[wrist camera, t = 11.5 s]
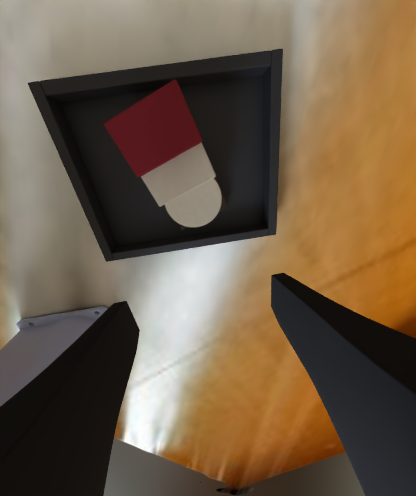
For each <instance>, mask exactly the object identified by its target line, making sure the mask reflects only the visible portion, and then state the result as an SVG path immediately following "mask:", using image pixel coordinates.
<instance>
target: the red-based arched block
mask: <svg viewBox="0 0 416 496" xmlns="http://www.w3.org/2000/svg"><path fill="white" fill-rule="evenodd" d="M104 126H105V127H106V129H107V131H108V132H109V134H110V135H111V137H112V139H113V140H114V142H115V143H116V145H117V146H118V148H119V150H120V151H121V153H122V154H123V156H124V157H125V159H126V161H127V162H128V164H129V165H130V167H131V168H132V170H133V172H134V173H135V175H136V176H137V177H141V178H142V179H143V181H144V183H145V184H146V186H147V187H148V189H149V191H150V192H151V194H152V195H153V197H154V199H155V200H156V202H157V203H158V205H159V206H163V205H164V204H165V207H166V210H167V212H168V213H169V215H170V216H171V217H172V218H173V219H174V220H175V221H176V222H177V223H178V224H179V226H180V227H181V229H182V230H184V229H186V228H188V227H200V226H203V225H206V224H208V223H209V222H211V221H212V220H213V219H214V218H215V217H216V215H217V214H218V212H220V211H222V210H223V209H225V208H227V207H228V204H227V202H226V200H225V198H224V195H223V193H222V191H221V189H220V186H219V184H218V182H217V179H216V174H215V172H214V170H213V167H212V165H211V163H210V160H209V158H208V156H207V154H206V151H205V149H204V147H203V145H202V137H201V135H200V133H199V130H198V128H197V126H196V123H195V121H194V119H193V117H192V114H191V112H190V110H189V107H188V105H187V103H186V100H185V98H184V96H183V94H182V91H181V89H180V87H179V84H178V82H177V80H176V79H174V80H172V81H171V82H169V83H168V84H166V85H164V86H163V87H161V88H160V89H158V90H156V91H155V92H153V93H152V94H150V95H148V96H147V97H145V98H143V99H142V100H140V101H139V102H137V103H135V104H134V105H132V106H131V107H129V108H127V109H126V110H124V111H123V112H121V113H119V114H118V115H116V116H115V117H113V118H111V119H110V120H108V121H107V122H105V123H104Z"/></svg>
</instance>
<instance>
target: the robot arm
mask: <svg viewBox="0 0 416 496" xmlns="http://www.w3.org/2000/svg"><path fill="white" fill-rule="evenodd" d="M271 307H272V309H273V312H274V314H275V316H276V318H277V321H278V323H279V325H280V327H281V328H282V330H283V332H284V334H285V335H286V337H287V339H288V340H289V342H290V344H291V345H292V347H293V349H294V350H295V352H296V354H297V356H298V357H299V359H300V361H301V362H302V364H303V366H304V367H305V369H306V371H307V372H308V374H309V376H310V378H311V380H312V381H313V383H314V385H315V387H316V389H317V391H318V394H319V396H320V398H321V400H322V402H323V404H324V406H325V408H326V410H327V412H328V414H329V416H330V418H331V421H332V423H333V425H334V427H335V429H336V431H337V433H338V435H339V438H340V440H341V442H342V444H343V446H344V449H345V451H346V453H347V455H348V457H349V460H350V462H351V464H352V466H353V469H354V471H355V473H356V475H357V478H358V480H359V482H360V484H361V486H362V489H363V491H364V494H365V496H416V338H413V337H410V336H408V335H405V334H403V333H401V332H398V331H396V330H393V329H391V328H389V327H386V326H384V325H382V324H380V323H377V322H375V321H373V320H371V319H368V318H366V317H364V316H362V315H360V314H358V313H356V312H354V311H352V310H350V309H348V308H346V307H344V306H342V305H340V304H338V303H336V302H334V301H332V300H330V299H328V298H327V297H325V296H323V295H321V294H319V293H318V292H316V291H314V290H312V289H311V288H309V287H307V286H306V285H304V284H302V283H300V282H299V281H297V280H295V279H294V278H292V277H290V276H288V275H287V274H285V273H280V274H275V275H272V279H271ZM97 311H98V312H97ZM17 327H18V328H19V329H20V331H19V332H18V333H17V334H16V335H15V336H14V337H13V338H12V339H11V340H10V341H9V342H8V343H7V344H6V345H5V346H4V347H3V348H2V349H1V350H0V496H103V494H104V488H105V483H106V477H107V471H108V465H109V460H110V454H111V449H112V444H113V439H114V434H115V429H116V424H117V420H118V416H119V412H120V408H121V404H122V401H123V397H124V394H125V390H126V387H127V383H128V380H129V376H130V373H131V369H132V366H133V362H134V358H135V355H136V350H137V344H138V338H139V331H140V330H139V328H138V326H137V323H136V321H135V319H134V317H133V314H132V312H131V310H130V308H129V305H128V303H127V301H123V302H118V303H114V304H113V305H111V306H110V307H109V308H108V309H107V308H106V307H103V306H101V307H95V308H89V309H83V310H77V311H71V312H65V313H59V314H53V315H47V316H41V317H35V318H30V319H24V320H20V321H19V322H18V323H17Z"/></svg>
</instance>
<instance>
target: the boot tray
mask: <svg viewBox="0 0 416 496" xmlns="http://www.w3.org/2000/svg"><path fill="white" fill-rule="evenodd" d="M282 57H283V49H276V50H272V51H262V52H255V53H247V54H240V55H232V56H224V57H217V58H209V59H202V60H194V61H187V62H179V63H172V64H164V65H157V66H149V67H142V68H134V69H127V70H119V71H112V72H104V73H97V74H89V75H82V76H74V77H66V78H59V79H51V80H44V81H40V82H39V81H37V82H29V83H28V85H29V87H30V90H31V92H32V94H33V97H34V99H35V101H36V103H37V106H38V108H39V110H40V112H41V115H42V117H43V119H44V121H45V124H46V126H47V128H48V131H49V133H50V135H51V137H52V140H53V142H54V144H55V146H56V149H57V151H58V153H59V156H60V158H61V160H62V162H63V165H64V167H65V169H66V171H67V174H68V176H69V178H70V180H71V183H72V185H73V187H74V190H75V192H76V194H77V196H78V199H79V201H80V203H81V205H82V208H83V210H84V212H85V215H86V217H87V219H88V221H89V224H90V226H91V228H92V230H93V233H94V235H95V237H96V239H97V242H98V244H99V246H100V249H101V251H102V253H103V255H104V258H105V260H106V261H113V260H120V259H126V258H132V257H139V256H145V255H151V254H157V253H163V252H170V251H176V250H182V249H188V248H194V247H201V246H207V245H213V244H219V243H225V242H232V241H238V240H244V239H250V238H256V237H263V236H268V235H275V234H276V224H277V196H278V168H279V140H280V113H281V85H282ZM174 79H176V80H177V82H178V84H179V87H180V89H181V91H182V94H183V96H184V98H185V100H186V103H187V105H188V107H189V110H190V112H191V114H192V117H193V119H194V121H195V123H196V126H197V128H198V130H199V133H200V135H201V137H202V145H203V147H204V149H205V151H206V154H207V156H208V158H209V160H210V163H211V165H212V167H213V170H214V172H215V174H216V179H217V182H218V184H219V186H220V189H221V191H222V193H223V195H224V198H225V200H226V202H227V204H228V207H227V208H225V209H223V210H222V211H220V212H218V214H217V215H216V217H215V218H214V219H213V220H212V221H211V222H209V223H208V224H206V225H203V226H200V227H188V228H186V229H184V230H182V229H181V227H180V226H179V224H178V223H177V222H176V221H175V220H174V219H173V218H172V217H171V216H170V215H169V213H168V212H167V210H166V207H165V204H164V205H163V206H159V205H158V203H157V202H156V200H155V199H154V197H153V195H152V194H151V192H150V191H149V189H148V187H147V186H146V184H145V183H144V181H143V179H142V178H141V177H137V176H136V175H135V173H134V172H133V170H132V168H131V167H130V165H129V164H128V162H127V161H126V159H125V157H124V156H123V154H122V153H121V151H120V150H119V148H118V146H117V145H116V143H115V142H114V140H113V139H112V137H111V135H110V134H109V132H108V131H107V129H106V127H105V126H104V123H105V122H107V121H108V120H110V119H111V118H113V117H115V116H116V115H118V114H119V113H121V112H123V111H124V110H126V109H127V108H129V107H131V106H132V105H134V104H135V103H137V102H139V101H140V100H142V99H143V98H145V97H147V96H148V95H150V94H152V93H153V92H155V91H156V90H158V89H160V88H161V87H163V86H164V85H166V84H168V83H169V82H171V81H172V80H174Z"/></svg>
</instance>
